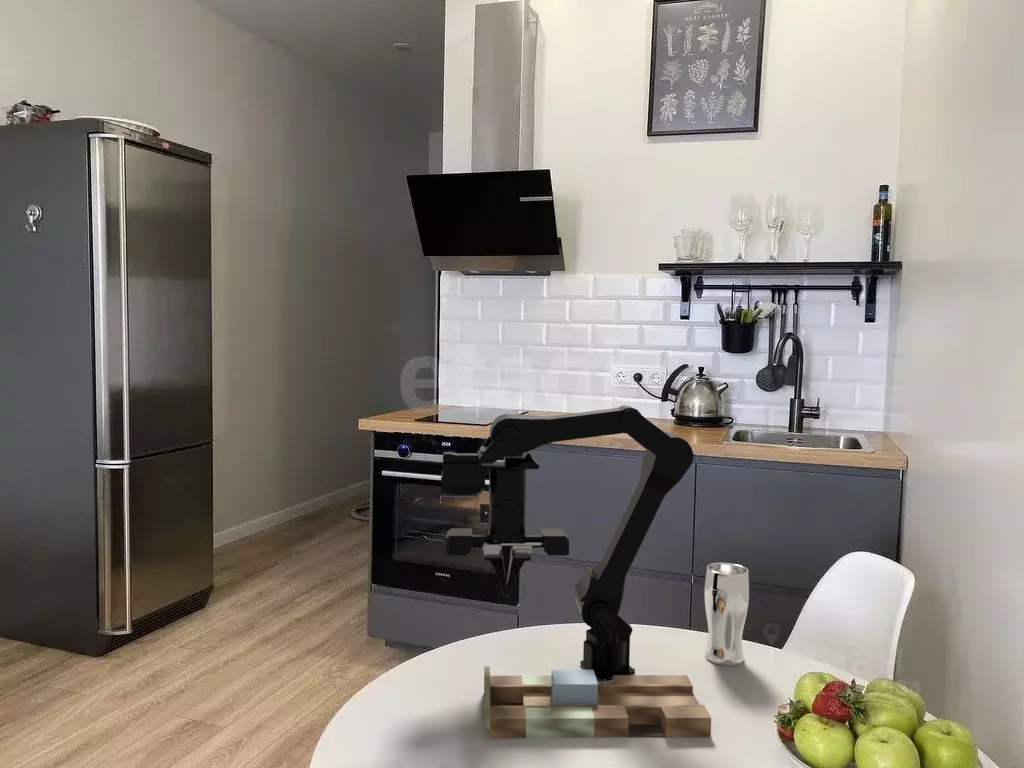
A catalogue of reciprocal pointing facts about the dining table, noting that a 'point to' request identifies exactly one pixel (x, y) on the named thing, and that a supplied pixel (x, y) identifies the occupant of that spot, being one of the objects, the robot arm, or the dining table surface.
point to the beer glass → (726, 612)
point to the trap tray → (594, 709)
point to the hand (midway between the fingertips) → (506, 595)
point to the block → (574, 687)
